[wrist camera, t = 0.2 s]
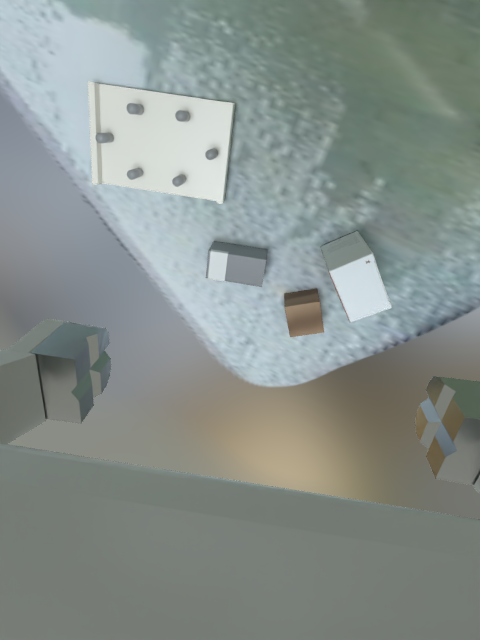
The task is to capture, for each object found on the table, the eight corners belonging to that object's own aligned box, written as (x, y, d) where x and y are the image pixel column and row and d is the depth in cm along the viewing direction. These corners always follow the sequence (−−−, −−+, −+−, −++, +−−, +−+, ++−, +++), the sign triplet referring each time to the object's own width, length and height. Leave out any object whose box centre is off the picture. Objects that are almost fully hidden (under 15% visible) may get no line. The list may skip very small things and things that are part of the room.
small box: (319, 245, 56) (327, 270, 47) (357, 229, 54) (373, 251, 45) (339, 292, 59) (349, 324, 50) (375, 278, 57) (393, 308, 48)
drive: (214, 240, 57) (208, 250, 53) (267, 248, 57) (266, 259, 52) (211, 266, 59) (205, 278, 55) (263, 274, 59) (261, 287, 54)
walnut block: (284, 293, 60) (284, 307, 55) (316, 288, 59) (319, 301, 55) (289, 321, 62) (290, 337, 58) (321, 317, 61) (324, 332, 57)
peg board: (96, 83, 49) (81, 80, 46) (235, 103, 49) (231, 102, 45) (99, 181, 55) (87, 185, 51) (224, 200, 54) (220, 206, 51)
